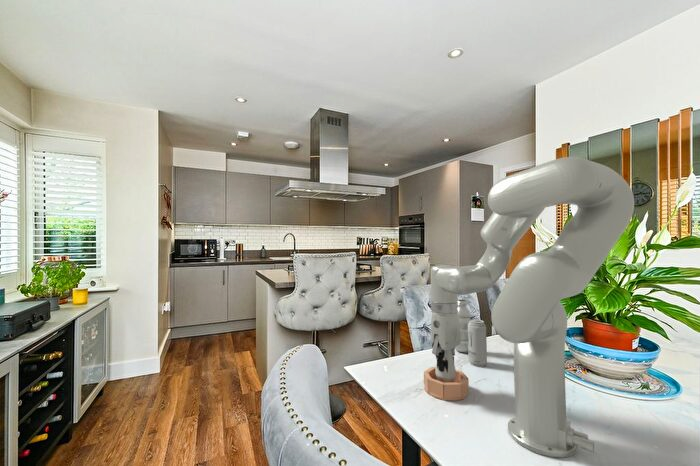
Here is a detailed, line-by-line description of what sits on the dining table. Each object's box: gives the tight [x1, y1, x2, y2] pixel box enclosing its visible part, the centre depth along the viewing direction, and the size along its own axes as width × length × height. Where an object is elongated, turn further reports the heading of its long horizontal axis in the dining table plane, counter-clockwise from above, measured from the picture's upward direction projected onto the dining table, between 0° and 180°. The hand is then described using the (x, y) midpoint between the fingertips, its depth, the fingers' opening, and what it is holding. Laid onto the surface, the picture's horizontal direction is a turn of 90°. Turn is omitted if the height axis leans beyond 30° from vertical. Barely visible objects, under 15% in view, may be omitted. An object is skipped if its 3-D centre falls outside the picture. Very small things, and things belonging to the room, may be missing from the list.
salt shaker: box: [435, 346, 456, 383], centre depth 87 cm, size 6×6×13 cm
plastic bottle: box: [455, 299, 472, 353], centre depth 118 cm, size 6×7×20 cm
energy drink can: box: [467, 318, 488, 368], centre depth 106 cm, size 6×6×15 cm
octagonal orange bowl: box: [423, 366, 470, 402], centre depth 87 cm, size 12×12×4 cm
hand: (445, 370), depth 87 cm, fingers closed on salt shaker, 3 cm apart
